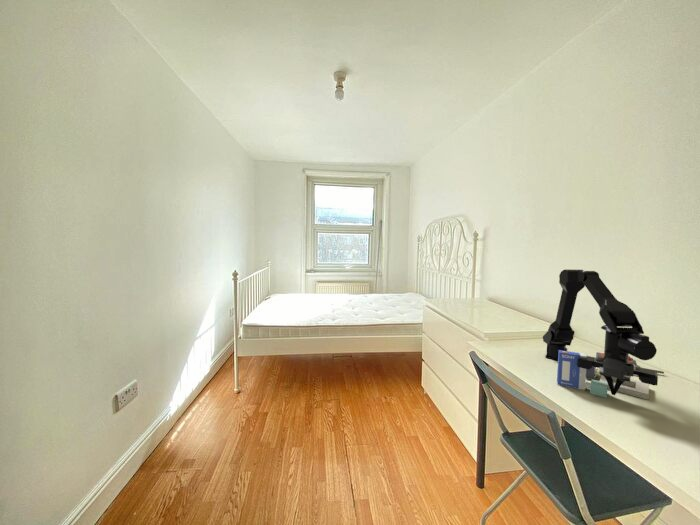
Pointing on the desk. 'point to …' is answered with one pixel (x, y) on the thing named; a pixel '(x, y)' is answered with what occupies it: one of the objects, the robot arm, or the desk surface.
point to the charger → (591, 372)
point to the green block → (597, 388)
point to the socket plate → (638, 391)
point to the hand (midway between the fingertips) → (613, 394)
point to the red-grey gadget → (630, 360)
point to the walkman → (570, 370)
